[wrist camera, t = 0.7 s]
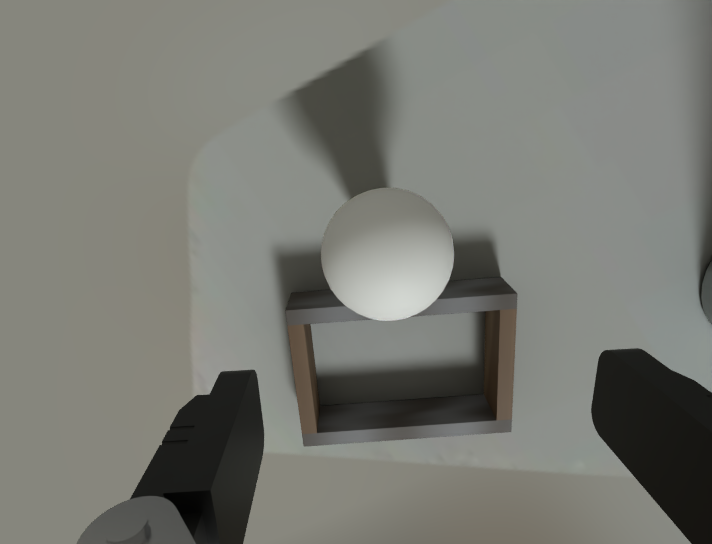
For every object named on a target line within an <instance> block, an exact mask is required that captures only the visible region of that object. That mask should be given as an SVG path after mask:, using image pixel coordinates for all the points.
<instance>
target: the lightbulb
mask: <svg viewBox="0 0 712 544" xmlns="http://www.w3.org/2000/svg"><path fill="white" fill-rule="evenodd" d="M321 263H322V268H323V272H324V275H325V278H326V280H327V282H328V284H329V287H330V288H331V290H332V291H333V293H334V294H335V295H336V297H337V298H338V299H339V300H340V301H341V302H342V303H343V304H344V305H345V306H346V307H348V308H350V309H351V310H353V311H354V312H356V313H358V314H360V315H362V316H365V317H367V318H370V319H375V320H381V321H394V320H400V319H405V318H408V317H411V316H413V315H416V314H418V313H420V312H421V311H423V310H425V309H426V308H427V307H429V306H430V305H431V304H432V303H433V302H434V301H435V300H436V299H437V298H438V297H439V295H440V294H441V293H442V292H443V290H444V288H445V286H446V284H447V282H448V281H449V279H450V276H451V272H452V269H453V263H454V247H453V238H452V235H451V232H450V229H449V226H448V225H447V223H446V221H445V219H444V218H443V216H442V215H441V214H440V212H439V211H438V210H437V209H436V208H435V207H434V206H433V205H432V204H431V203H430V202H428V201H427V200H425V199H424V198H423V197H421V196H419V195H417V194H415V193H413V192H410V191H408V190H403V189H398V188H378V189H373V190H368V191H366V192H363V193H361V194H358V195H356V196H355V197H353V198H352V199H350V200H349V201H347V202H346V203H345V204H343V205H342V206H341V207H340V208H339V209H338V210H337V211H336V213H335V214H334V216H333V217H332V219H331V220H330V222H329V224H328V226H327V228H326V231H325V233H324V237H323V242H322V247H321Z"/></svg>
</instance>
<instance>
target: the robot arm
mask: <svg viewBox="0 0 712 544" xmlns="http://www.w3.org/2000/svg"><path fill="white" fill-rule="evenodd" d="M701 299H702V305H703V310H704V312H705V314H706V316H707V319H708V321H709V322H710V323H711V324H712V261H711V263H710V264H709V266H708V268H707V270H706V273H705V277H704V280H703V283H702V294H701ZM591 413H592V419H593V423H594V426H595V429H596V431H597V432H598V434H599V436H600V437H601V438H602V439H603V440H604V442H605V443H606V444H607V445H608V446H609V447H610V449H611V450H612V451H613V452H614V453H615V454H616V456H617V457H618V458H619V459H620V460H621V462H622V463H623V464H624V465H625V466H626V467H627V469H628V470H629V471H630V472H631V473H632V474H633V476H634V477H635V478H636V479H637V480H638V481H639V483H640V484H641V485H642V486H643V487H644V488H645V490H646V491H647V492H648V493H649V494H650V495H651V497H652V498H653V499H654V500H655V501H656V502H657V504H658V505H659V506H660V507H661V508H662V510H663V511H664V512H665V513H666V514H667V515H668V517H669V518H670V519H671V520H672V521H673V522H674V524H676V526H677V527H678V528H679V529H680V530H681V532H682V533H683V534H684V535H685V536H686V538H687V539H688V540H689V541H690V542H691V543H692V544H712V393H711V392H710V391H708V390H707V389H706V388H704V387H703V386H701V385H700V384H698V383H697V382H696V381H694V380H692V379H690V378H688V377H685V376H683V375H681V374H679V373H677V372H674V371H672V370H670V369H669V368H667V367H666V366H665V365H663V364H662V363H661V362H659V361H658V360H656V359H655V358H654V357H652V356H651V355H650V354H648V353H647V352H645V351H644V350H642V349H638V348H636V349H618V350H605V351H603V352H602V353H601V355H600V357H599V360H598V367H597V373H596V380H595V387H594V394H593V401H592V408H591ZM263 449H264V427H263V419H262V411H261V403H260V395H259V387H258V379H257V374H256V372H255V370H241V371H223V372H221V373H220V374H219V376H218V378H217V380H216V382H215V385H214V387H213V389H212V391H211V393H210V395H197V396H195V397H194V398H193V399H192V400H191V401H189V402H188V403H187V404H186V405H185V406H184V407H182V409H180V410H179V412H178V414H177V415H176V417H175V419H174V421H173V423H172V424H171V426H170V430H169V431H168V432H167V433H166V435H165V437H164V439H163V441H162V445H160V446H159V448H158V450H157V451H156V453H155V455H154V457H153V459H152V460H151V462H150V464H149V466H148V468H147V469H146V471H145V473H144V475H143V477H142V479H141V480H140V482H139V484H138V486H137V487H136V489H135V491H134V493H133V495H132V497H131V498H130V500H127V501H124V502H122V503H120V504H118V505H116V506H114V507H112V508H110V509H109V510H107V511H106V512H104V513H103V514H101V515H100V516H99V517H98V518H96V519H95V520H94V521H93V522H92V523H91V524H90V525H89V526H88V527H87V528H86V530H85V531H84V532H83V533H82V535H81V537H80V538H79V540H78V542H77V544H243V541H244V537H245V532H246V528H247V523H248V518H249V514H250V510H251V505H252V501H253V496H254V492H255V488H256V483H257V479H258V474H259V470H260V465H261V460H262V456H263Z"/></svg>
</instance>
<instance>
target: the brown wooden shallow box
mask: <svg viewBox="0 0 712 544" xmlns="http://www.w3.org/2000/svg"><path fill="white" fill-rule="evenodd" d="M480 311H485V358H484V394H482V395H468V396H454V397H440V398H426V399H412V400H397V401H383V402H369V403H355V404H341V405H327V406H320V402H319V394H318V385H317V377H316V368H315V360H314V351H313V343H312V334H311V326H310V324H316V323H330V322H344V321H357V320H371V319H370V318H367V317H365V316H362V315H360V314H358V313H356V312H354V311H353V310H351V309H350V308H348V307H346V306H345V305H344V304H343V303H342V302H341V301H340V300H339V299H338V298H337V297H336V295H335V294H334V293H333V291H332V290H321V291H308V292H294V293H291V296H290V299H289V301H288V304H287V307H286V310H285V312H286V319H287V327H288V334H289V341H290V349H291V356H292V363H293V371H294V378H295V385H296V393H297V400H298V407H299V415H300V422H301V430H302V437H303V444H304V446H318V445H332V444H346V443H360V442H375V441H389V440H403V439H417V438H431V437H446V436H460V435H474V434H488V433H503V432H511V425H512V403H513V380H514V358H515V335H516V313H517V293H516V292H515V291H514V290H513V289H512V288H511V287H510V286H509V285H508V284H507V283H506V282H505V281H504V279H503V278H502V277H496V278H483V279H469V280H456V281H448V282H447V284H446V286H445V288H444V290H443V292H442V293H441V294H440V295H439V297H438V298H437V299H436V300H435V301H434V302H433V303H432V304H431V305H430V306H429V307H427V308H426V309H425V310H423V311H421V312H420V313H418V314H416V315H413V316H425V315H439V314H453V313H466V312H480ZM411 317H412V316H411Z"/></svg>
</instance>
